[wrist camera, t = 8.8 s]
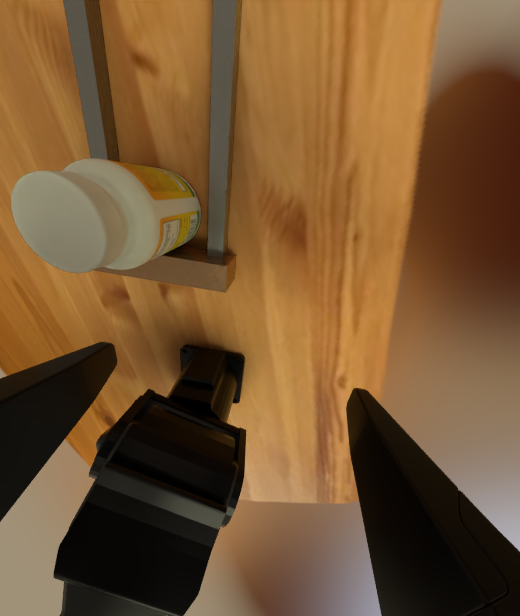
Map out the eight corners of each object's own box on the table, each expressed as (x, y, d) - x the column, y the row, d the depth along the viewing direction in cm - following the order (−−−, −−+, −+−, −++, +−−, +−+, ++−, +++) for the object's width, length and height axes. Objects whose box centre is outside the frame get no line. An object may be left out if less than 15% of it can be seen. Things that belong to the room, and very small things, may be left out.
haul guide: (234, 278, 20) (225, 292, 17) (110, 257, 21) (83, 268, 18) (264, -100, 11) (255, -189, 8) (45, -118, 12) (-28, -206, 9)
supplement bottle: (210, 239, 19) (142, 283, 10) (150, 248, 20) (42, 295, 11) (191, 161, 16) (82, 134, 8) (123, 175, 17) (-37, 165, 9)
